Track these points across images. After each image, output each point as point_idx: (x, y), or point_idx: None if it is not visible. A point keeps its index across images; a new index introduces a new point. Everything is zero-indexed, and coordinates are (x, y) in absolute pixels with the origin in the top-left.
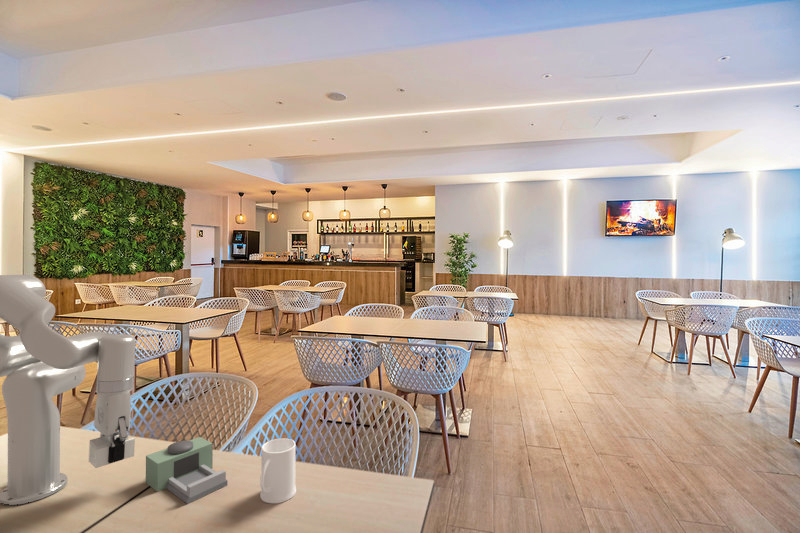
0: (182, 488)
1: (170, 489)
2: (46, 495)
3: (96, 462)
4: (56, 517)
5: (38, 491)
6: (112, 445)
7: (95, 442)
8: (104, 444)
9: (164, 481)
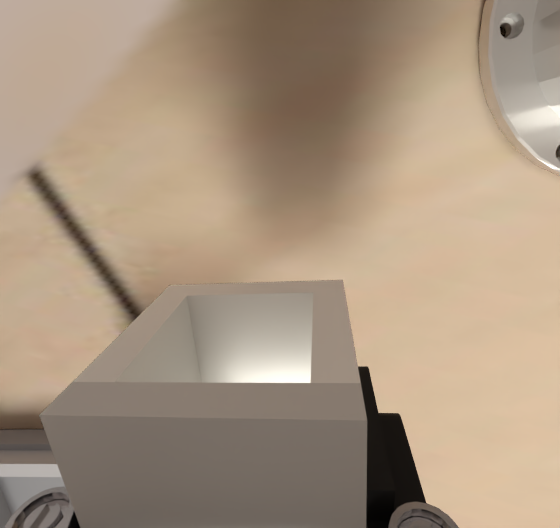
0: (5, 464)
1: None
2: (481, 60)
3: (147, 308)
4: (211, 70)
5: (538, 14)
6: (12, 518)
7: (207, 442)
8: (67, 484)
9: None
